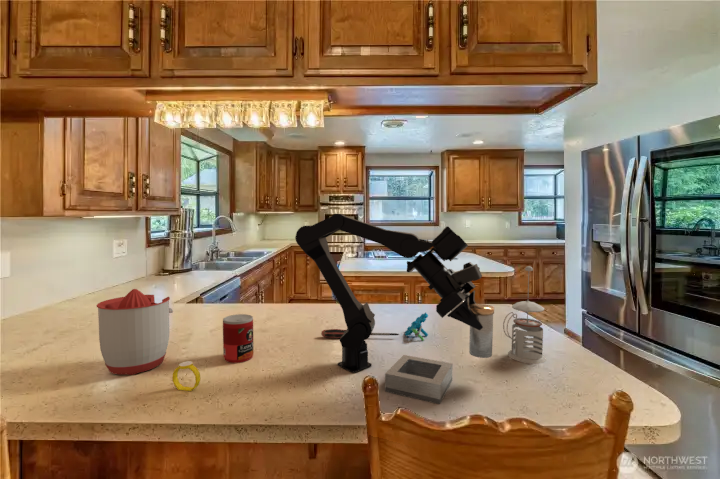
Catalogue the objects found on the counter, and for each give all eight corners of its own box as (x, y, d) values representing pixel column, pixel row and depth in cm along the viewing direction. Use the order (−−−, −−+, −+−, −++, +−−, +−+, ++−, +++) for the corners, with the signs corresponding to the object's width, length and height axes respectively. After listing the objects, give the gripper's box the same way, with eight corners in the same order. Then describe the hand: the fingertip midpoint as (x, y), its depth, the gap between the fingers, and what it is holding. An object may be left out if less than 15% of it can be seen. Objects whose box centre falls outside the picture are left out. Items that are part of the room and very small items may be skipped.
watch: (170, 392, 77) (168, 366, 77) (179, 386, 80) (177, 361, 80) (195, 393, 76) (193, 366, 76) (203, 387, 79) (201, 361, 79)
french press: (555, 362, 93) (558, 268, 92) (514, 365, 92) (517, 269, 90) (531, 349, 103) (533, 263, 102) (494, 351, 101) (496, 264, 100)
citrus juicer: (190, 358, 96) (188, 284, 95) (125, 385, 80) (122, 297, 79) (151, 349, 102) (149, 280, 101) (84, 372, 86) (81, 291, 85)
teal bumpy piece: (406, 324, 121) (426, 306, 118) (418, 337, 121) (439, 319, 117) (399, 339, 111) (422, 320, 107) (413, 353, 110) (436, 334, 107)
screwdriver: (398, 337, 113) (399, 328, 113) (399, 340, 110) (399, 331, 110) (322, 336, 114) (322, 327, 114) (320, 339, 111) (320, 330, 111)
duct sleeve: (463, 353, 82) (464, 306, 81) (476, 347, 85) (477, 302, 85) (485, 360, 78) (486, 310, 77) (497, 354, 81) (498, 306, 81)
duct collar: (385, 391, 77) (385, 373, 77) (403, 370, 88) (403, 354, 88) (439, 404, 72) (440, 384, 72) (452, 380, 83) (452, 363, 83)
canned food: (241, 365, 91) (240, 323, 91) (216, 360, 94) (215, 320, 93) (259, 354, 98) (259, 315, 98) (236, 350, 101) (235, 312, 101)
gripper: (452, 255, 74) (507, 313, 70) (467, 249, 91) (513, 295, 87) (415, 289, 78) (465, 346, 74) (436, 277, 95) (478, 323, 91)
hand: (483, 325), depth 81 cm, fingers closed on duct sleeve, 5 cm apart
